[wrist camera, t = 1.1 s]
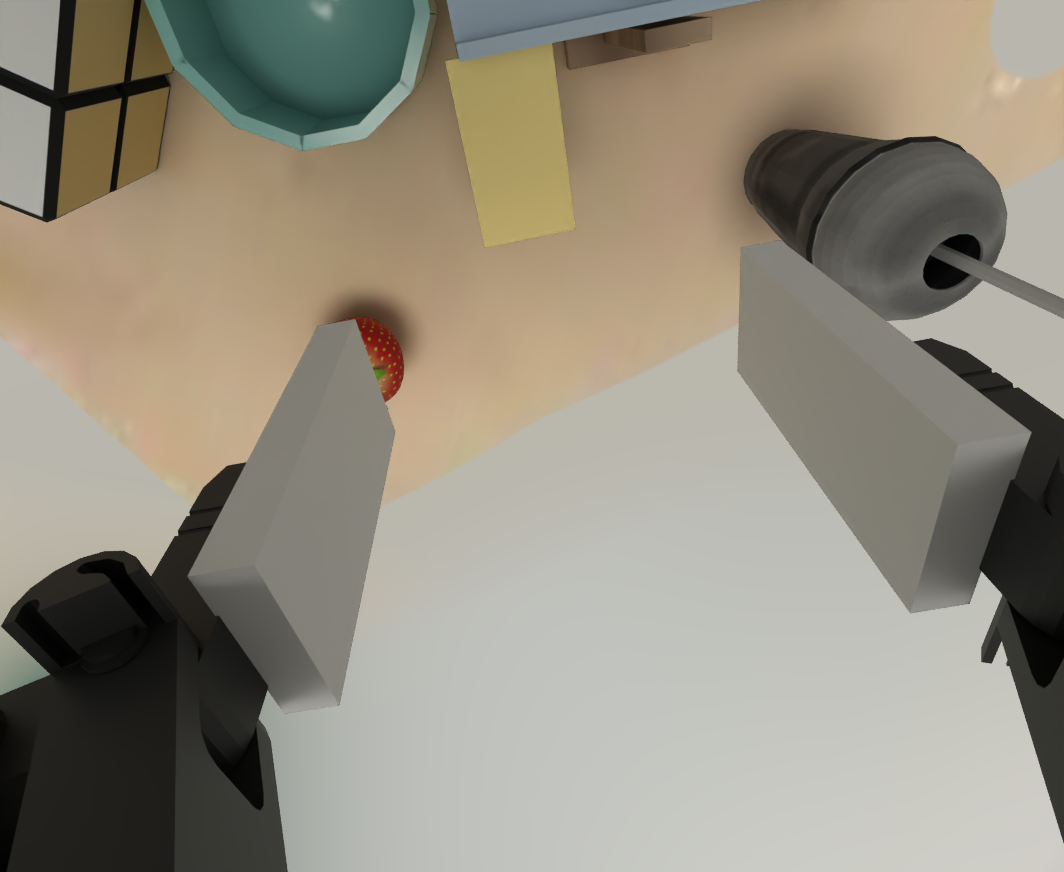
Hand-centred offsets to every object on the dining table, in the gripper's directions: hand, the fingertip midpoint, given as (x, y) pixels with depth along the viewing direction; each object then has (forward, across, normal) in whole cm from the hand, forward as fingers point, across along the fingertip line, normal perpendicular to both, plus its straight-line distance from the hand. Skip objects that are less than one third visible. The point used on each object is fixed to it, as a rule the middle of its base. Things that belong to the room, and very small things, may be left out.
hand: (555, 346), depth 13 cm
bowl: (+25, -8, +8) cm, 27 cm away
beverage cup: (+25, +15, -4) cm, 30 cm away
